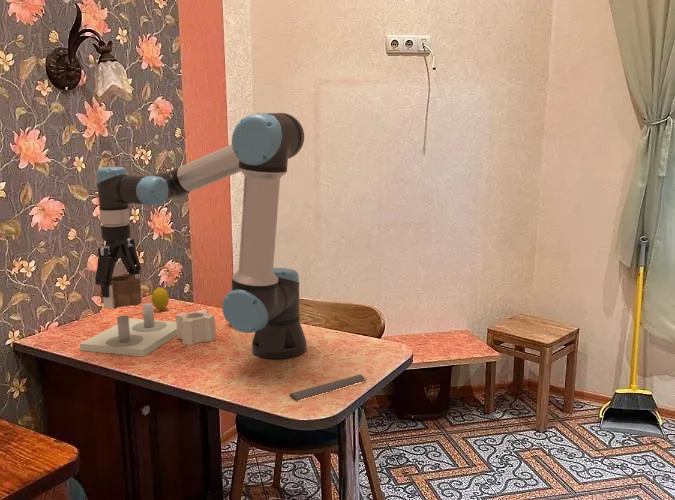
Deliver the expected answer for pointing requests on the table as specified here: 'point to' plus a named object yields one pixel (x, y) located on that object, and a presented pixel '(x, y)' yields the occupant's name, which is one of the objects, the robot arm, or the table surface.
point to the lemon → (160, 298)
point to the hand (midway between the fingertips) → (121, 302)
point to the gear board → (132, 335)
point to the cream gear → (195, 327)
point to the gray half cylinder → (327, 387)
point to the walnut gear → (125, 290)
